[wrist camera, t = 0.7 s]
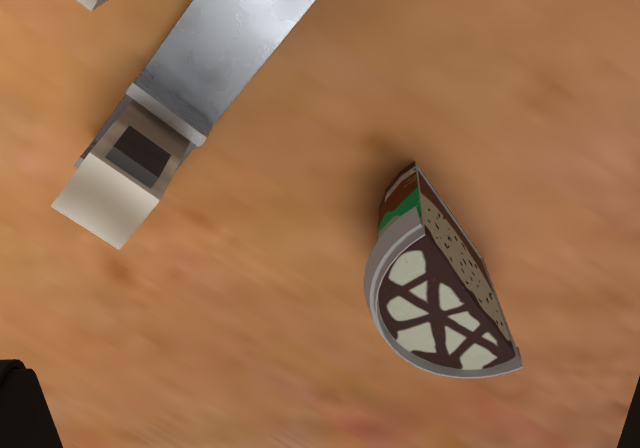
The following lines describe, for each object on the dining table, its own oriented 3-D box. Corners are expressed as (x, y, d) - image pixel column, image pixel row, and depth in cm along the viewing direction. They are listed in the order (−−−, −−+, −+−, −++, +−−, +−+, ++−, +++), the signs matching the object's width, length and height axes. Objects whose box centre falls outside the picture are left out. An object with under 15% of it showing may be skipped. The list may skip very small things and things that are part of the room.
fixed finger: (144, 84, 36) (97, 140, 29) (201, 126, 37) (168, 190, 30) (103, 141, 38) (50, 206, 31) (158, 179, 39) (119, 249, 32)
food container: (325, 191, 41) (320, 281, 33) (403, 144, 39) (419, 226, 31) (419, 308, 46) (435, 412, 38) (492, 271, 44) (527, 373, 36)
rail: (352, -221, 29) (353, -230, 26) (425, -142, 31) (435, -141, 28) (95, 139, 40) (72, 167, 36) (160, 184, 41) (143, 214, 38)
